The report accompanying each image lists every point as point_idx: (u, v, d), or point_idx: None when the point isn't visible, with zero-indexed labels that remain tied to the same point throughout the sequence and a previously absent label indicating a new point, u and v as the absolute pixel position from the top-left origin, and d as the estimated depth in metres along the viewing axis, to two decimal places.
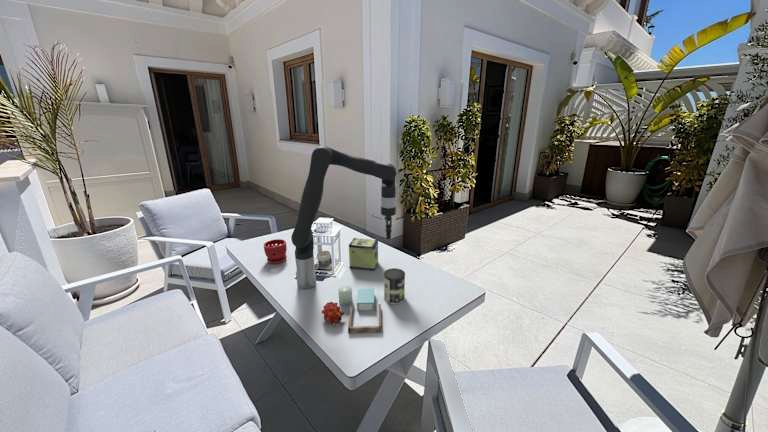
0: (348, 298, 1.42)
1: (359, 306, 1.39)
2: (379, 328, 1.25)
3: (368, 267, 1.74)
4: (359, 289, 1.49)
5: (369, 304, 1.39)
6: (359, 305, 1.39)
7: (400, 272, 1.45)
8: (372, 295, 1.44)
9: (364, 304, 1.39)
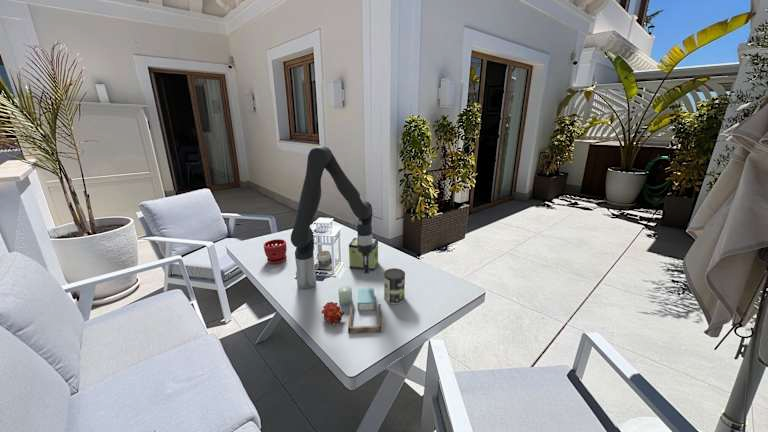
0: (348, 298, 1.42)
1: (359, 306, 1.39)
2: (379, 328, 1.25)
3: None
4: (359, 289, 1.49)
5: (370, 304, 1.39)
6: (360, 305, 1.39)
7: (400, 272, 1.45)
8: (372, 295, 1.44)
9: (364, 303, 1.39)
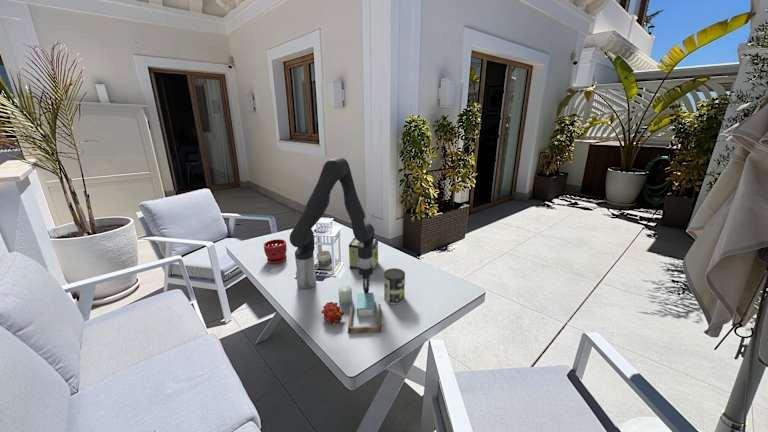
0: (348, 298, 1.42)
1: (359, 311, 1.35)
2: (379, 328, 1.25)
3: None
4: (358, 294, 1.45)
5: (369, 309, 1.35)
6: (359, 310, 1.35)
7: (400, 272, 1.45)
8: (372, 300, 1.40)
9: (364, 309, 1.35)
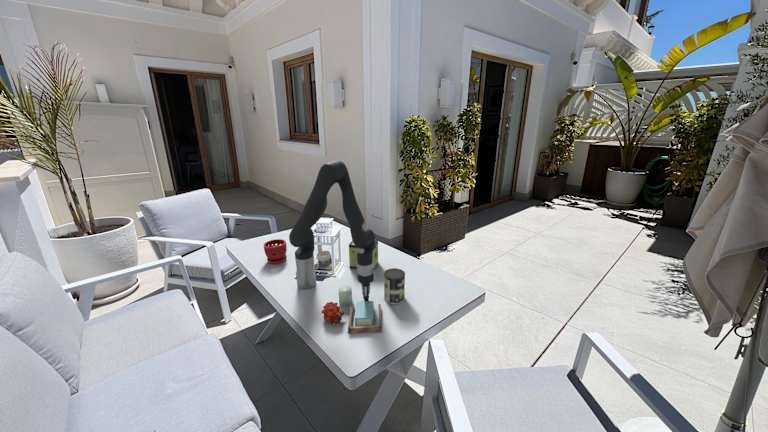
0: (348, 298, 1.42)
1: (357, 321, 1.29)
2: (379, 328, 1.25)
3: None
4: (357, 302, 1.39)
5: (368, 319, 1.29)
6: (357, 320, 1.29)
7: (400, 272, 1.45)
8: (371, 309, 1.34)
9: (362, 319, 1.29)
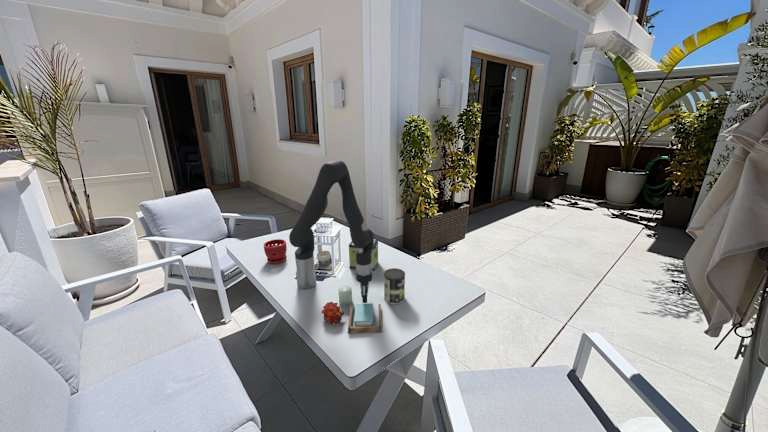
0: (348, 298, 1.42)
1: (356, 324, 1.27)
2: (379, 328, 1.25)
3: None
4: (357, 305, 1.37)
5: (368, 322, 1.27)
6: (357, 323, 1.27)
7: (400, 272, 1.45)
8: (371, 312, 1.32)
9: (362, 322, 1.27)
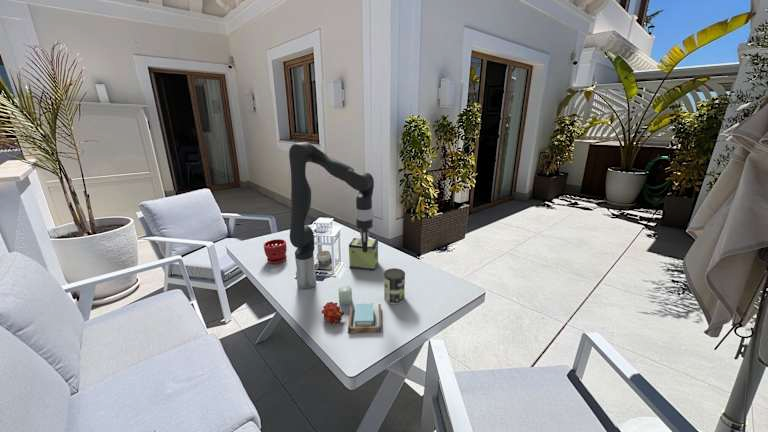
0: (348, 298, 1.42)
1: (357, 324, 1.27)
2: (379, 328, 1.25)
3: (368, 267, 1.74)
4: (357, 305, 1.37)
5: (368, 322, 1.27)
6: (357, 323, 1.27)
7: (400, 272, 1.45)
8: (371, 312, 1.32)
9: (362, 322, 1.27)
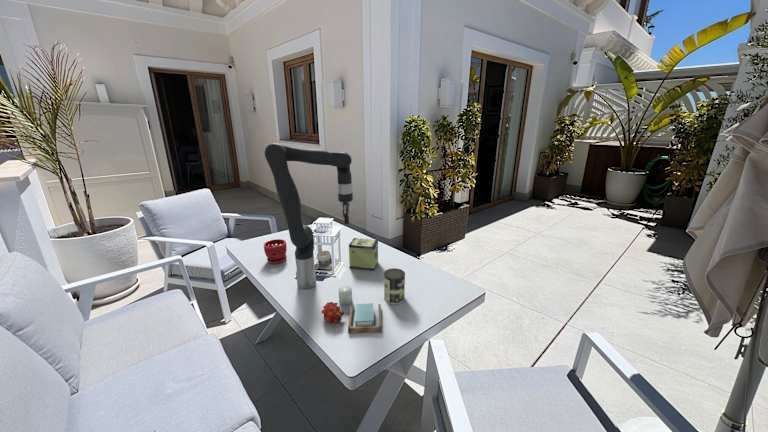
0: (348, 298, 1.42)
1: (357, 324, 1.27)
2: (379, 328, 1.25)
3: (368, 267, 1.74)
4: (357, 305, 1.37)
5: (368, 322, 1.27)
6: (358, 323, 1.27)
7: (400, 272, 1.45)
8: (371, 311, 1.32)
9: (362, 322, 1.27)
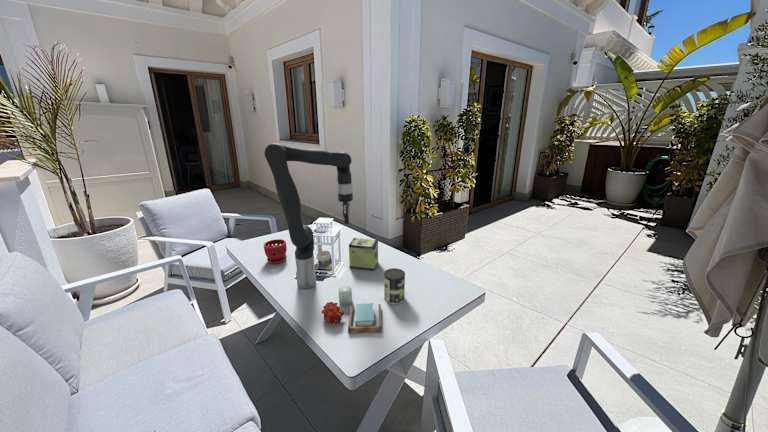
0: (348, 298, 1.42)
1: (357, 324, 1.27)
2: (379, 328, 1.25)
3: (368, 267, 1.74)
4: (357, 305, 1.37)
5: (369, 322, 1.27)
6: (358, 323, 1.27)
7: (400, 272, 1.45)
8: (371, 311, 1.32)
9: (363, 322, 1.27)
